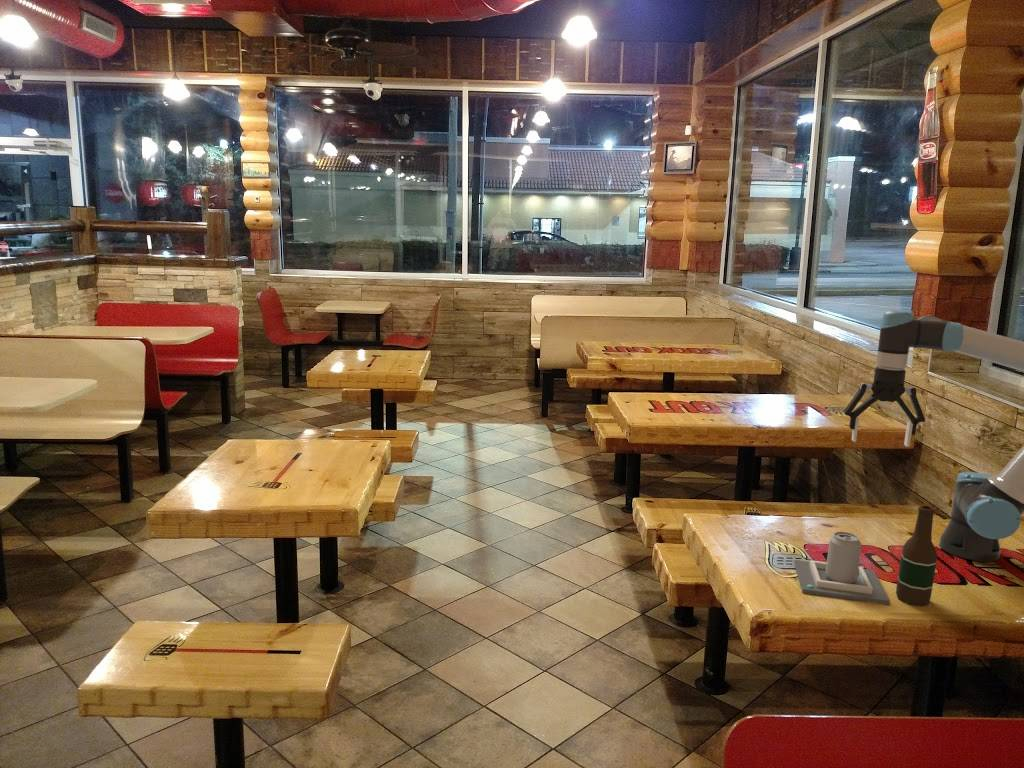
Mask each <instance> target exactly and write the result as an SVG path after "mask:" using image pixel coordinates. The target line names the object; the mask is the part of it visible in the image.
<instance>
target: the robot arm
mask: <svg viewBox="0 0 1024 768" xmlns="http://www.w3.org/2000/svg"><path fill="white" fill-rule="evenodd" d="M878 338H879V340H878V346H877V355H876V360H875V365H876V367H875V368H874V375H873V382H872V383H871V384H869V383H865V382H860V385H859V388H858V390H857V391H856V393H855V395H854V396H853V397H852V399H851V400H850V401H849V403H848V404H847V406H846V407H845V409H844V410H843V413H844V414H845V416H847V417H850V418H849V423H848V424H849V425H848V427H849V428H850V430H851V431H852V433H851V441H852V442H853V443H857V438H858V432H859V425H860V418H858V417H859V416H861V414H862V413H864V412H865V411H866V410H867V409H868V408H869V407H871V406H872V405H873V404H875V403H876V402H877V401H880V402H889V403H895V402H896V403H897V404H898V405H899V407H900V408H901V410H902V411H903V412H904V414H905V415H906V416H907V417H908V419H909V420H910V421H907V422H906V427H905V436H904V442H903V445H904V446H905V447H906V448H910V446H911V441H912V440H911V439H912V436H915V435H916V432H917V426H918V425H919V423H924V422H925V421H926V417H925V415H924V413H923V410H922V407H921V405H920V402H919V399H918V397H917V388H916V387H914V386H913V385H912V386H907V387H905V380H906V373H907V371H906V370H905V369H907V366H908V358H909V351H910V348H912V349H913V348H914V349H915V348H916V349H930V350H937V351H944V352H946V351H949V352H950V351H951V352H952V351H953V352H955V353H959V354H961V355H965V356H969V357H972V358H975V359H976V358H977V359H979V360H983V361H986V362H990V363H993V364H997V365H1001V366H1004V367H1007V368H1010V369H1013V370H1018V371H1020V372H1024V341H1022V340H1019V339H1016V338H1015V339H1014V338H1011V337H1007V336H1004V335H999V334H996V333H992V332H990V331H985V330H982V329H978V328H975V327H970V326H967V325H964V324H962V323H960V322H953V321H952V320H951V321H949V320H947V319H946V320H945V319H943V318H942V319H941V318H938V317H937V316H934V315H925V316H924V315H923V316H921V317H918V319H916V318H915V313H914V312H912V311H908V310H899V309H898V310H895V309H890V310H889V309H888V310H886V311H885V312H884V313H883V316H882V320H881V325H880V331H879V337H878ZM869 390H871V391H872V394H870V395H869V396H868V398H866V399H865V400H864V401H863V402H862V403H861V404H860V405H858V404H859V402H860V400H861V399H862V398H863V397H864V395H865V393H866V392H868V391H869ZM904 393H906V394H907V395H908V396H909V398H910V399H909V400H910V401H911V404H912V406H913V409H914V412H915V415H916V416H915V415H914V414H913V413H912V411H911V410H910V408H909V407H908V405H906V403H905V401H904V399H902V397H901V396H902V395H903V394H904ZM857 405H858V406H857ZM951 508H952V509H951V515H950V520H949V521H948V523H947V525H946V527H945V529H944V530H943V532H942V534H941V535H940V539H939V547H940V548H941V549H942V550H943V551H945V552H946V553H948V554H951V555H953V556H956V557H957V558H958V557H959V558H962V559H965V560H966V559H967V560H971V561H976V562H977V561H978V562H995V561H998V560H999V559H1000V557H1001V545H1000V540H1001V539H1006V538H1008V537H1010V536H1012V535H1014V534H1015V533H1016V532H1017V531H1018V529H1019V528H1020V525H1021V521H1022V517H1021V516H1022V515H1023V514H1024V444H1023V445H1022V446H1021V448H1020V449H1019V450H1017V452H1016V453H1015V454H1014V456H1013V457H1012V458H1011V459H1010V460H1009V462H1007V464H1005V466H1004V468H1002V470H1001V471H1000V472H999V473H998V474H997V475H994V474H988V473H982V472H973V471H962V472H960V473H959V474H957V478H956V481H955V489H954V495H953V503H952V507H951Z"/></svg>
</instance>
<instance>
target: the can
mask: <svg viewBox="0 0 1024 768" xmlns="http://www.w3.org/2000/svg"><path fill="white" fill-rule="evenodd" d="M860 540H861V538H860V537H859V536H858V534H855V533H851V532H848V531H842V530H841V531H834V532H833V535H832V536H831V537H830V538H829V542H828V550H827V557H826V558H827V559H826V562H827V564H826V571H825V574H826V575H827V577H828V578H829V579H830V580H831V581H833V582H840V583H847V584H852V583H853V582H855V581H856V580H857V575H858V568H859V567H860V560H861V553H862V545H863V544H862V542H861V541H860Z"/></svg>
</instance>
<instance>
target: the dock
mask: <svg viewBox="0 0 1024 768" xmlns="http://www.w3.org/2000/svg"><path fill="white" fill-rule="evenodd" d="M794 564H795V566H794V568H796V569H795V573H796V575H797V576H796V577H797V579H798V582H799V586H800V589H801V593H802V594H810V595H817V596H823V597H824V596H825V597H830V596H831V597H830V598H837V597H838V599H839V598H840V599H846V600H852V601H861V602H866V601H870V602H869V603H874V602H877V603H876V604H881V603H883V605H888V604H889V605H890V602H891V600H890V598H889V597H888V595H887V593H886V590H885V589H884V587H883V585H882V584H881V581H880V579H879V577H878V576H877V574H876V572H875V570H874V569H866V568H863V566H859V568H858V575H857V580H856V581H855V582H853V583H852V584H847V583H840V582H833V581H831V580H830V579H829V578H828V577H827V575H826V574H825V571H826V564H827V561H826V562H825V561H818V560H812V559H811V560H809V561H805V560H799V559H798V560H797V559H794V560H793V565H794Z"/></svg>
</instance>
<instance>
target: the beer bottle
mask: <svg viewBox="0 0 1024 768" xmlns="http://www.w3.org/2000/svg"><path fill="white" fill-rule="evenodd" d="M917 511H918V514H917V518H916V523H915V527H914V531H913V533H912V536H910V537H909V538H908V539H907V540H906V541H905V543H904V545H903V546H902V550H901V556H900V562H899V568H898V574H897V583H896V589H895V590H896V591H895V593H896V594H895V595H896V596H897V599H898V600H899V601H901V602H903V603H905V604H907V605H911V606H917V607H923V606H927V604H928V605H929V604H930V602H931V598H932V591H933V585H934V580H935V575H936V574H935V573H936V567H937V560H938V559H937V557H938V554H937V550H936V547H935V545H934V543H933V540H932V539H933V538H932V532H933V522H934V515H936V511H935V509H934V507H932V506H929V505H920V506H918V507H917Z"/></svg>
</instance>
